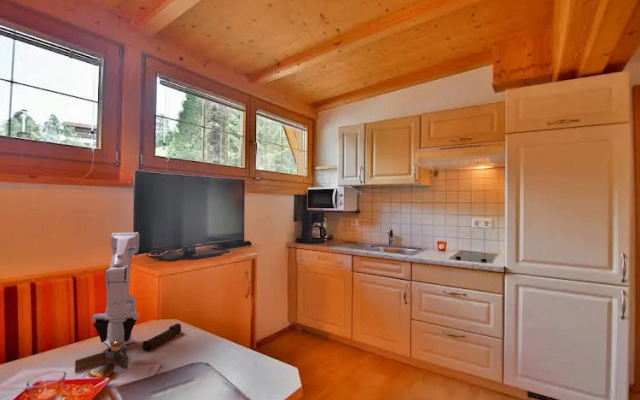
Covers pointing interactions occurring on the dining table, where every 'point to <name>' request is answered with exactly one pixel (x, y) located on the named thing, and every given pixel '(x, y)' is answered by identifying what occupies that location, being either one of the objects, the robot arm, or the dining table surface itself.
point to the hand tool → (161, 337)
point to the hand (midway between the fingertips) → (115, 340)
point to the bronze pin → (116, 345)
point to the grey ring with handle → (118, 355)
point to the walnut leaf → (93, 361)
